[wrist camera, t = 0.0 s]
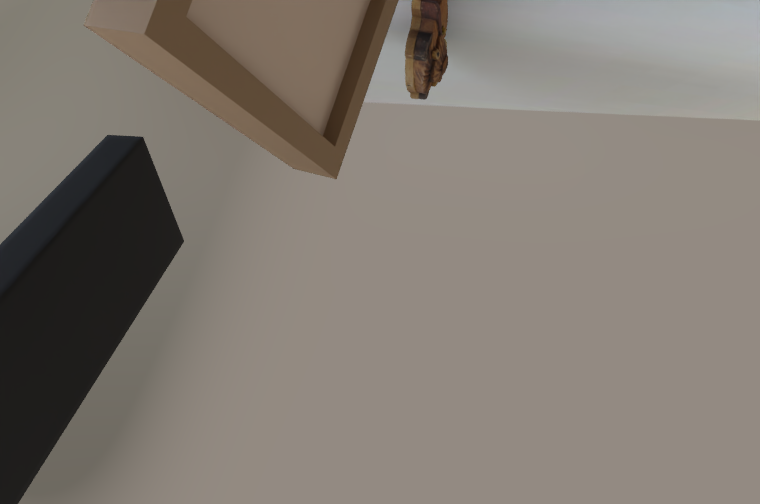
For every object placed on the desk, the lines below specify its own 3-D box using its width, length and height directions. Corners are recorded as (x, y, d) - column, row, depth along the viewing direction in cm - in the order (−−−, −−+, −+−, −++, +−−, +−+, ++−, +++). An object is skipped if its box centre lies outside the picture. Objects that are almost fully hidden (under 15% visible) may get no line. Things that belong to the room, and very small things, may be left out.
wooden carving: (458, 46, 70) (451, 120, 69) (422, 46, 71) (415, 120, 70) (447, -46, 55) (438, 47, 53) (401, -44, 56) (391, 48, 54)
